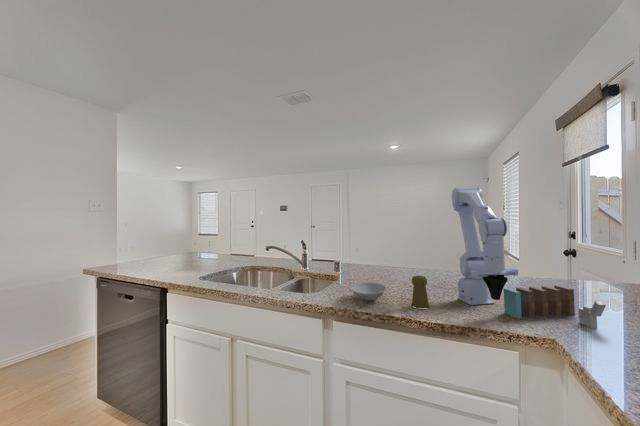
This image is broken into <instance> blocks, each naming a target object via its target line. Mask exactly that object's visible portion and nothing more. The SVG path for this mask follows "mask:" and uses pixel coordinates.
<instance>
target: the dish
mask: <svg viewBox="0 0 640 426" xmlns="http://www.w3.org/2000/svg"><path fill="white" fill-rule="evenodd" d="M350 291H351V292H353V294H354V295H355V296H356V297H358V298H359V299H361V300H365V301H368V300H371V301H372V300H376V299H378V298H380V297H381V296H383V294H385V292H387V291H388V286H387V285H385V284H383V283H379V282H371V281H370V282H367V281H365V282H358V283H355V284H352V285H351V286H350Z"/></svg>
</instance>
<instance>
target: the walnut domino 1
mask: <svg viewBox="0 0 640 426" xmlns="http://www.w3.org/2000/svg"><path fill="white" fill-rule="evenodd" d="M515 289H516V290H515V291H518V292H520V293H521V314H522V315H523V316H526V317H527V318H536V313H535V308H534V291H531V290H529V288H528V289H527V288H524V287H516V288H515Z"/></svg>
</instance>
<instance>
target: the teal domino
mask: <svg viewBox="0 0 640 426" xmlns="http://www.w3.org/2000/svg"><path fill="white" fill-rule="evenodd" d="M503 303H504V304H503V306H504V314H507V315H509V316H511V317H513V318H515V319H522V315H523V314H521V293H520V292H518V291H516V290H514V289H513V288H512V289H511V288H509V287H507V288H506V287H503Z"/></svg>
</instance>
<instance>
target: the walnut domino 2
mask: <svg viewBox="0 0 640 426" xmlns="http://www.w3.org/2000/svg"><path fill="white" fill-rule="evenodd" d="M528 290H531V291H534V308H535V315H536V314H537V315H539V316H541V317H542V318H543V317H549V313H548V299H547V290H543V289H542V288H540V287H536V286H528Z"/></svg>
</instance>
